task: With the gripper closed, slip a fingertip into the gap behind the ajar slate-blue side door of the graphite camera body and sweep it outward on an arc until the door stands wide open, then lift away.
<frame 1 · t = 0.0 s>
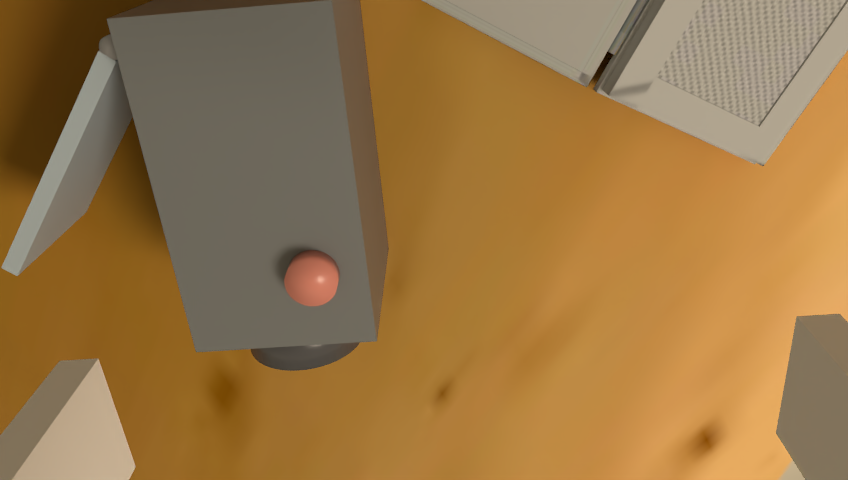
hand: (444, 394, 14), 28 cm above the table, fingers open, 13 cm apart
cam body: (295, 128, 40), on the table
door: (89, 134, 35), point 5 cm above the table, hinge at 38.0°
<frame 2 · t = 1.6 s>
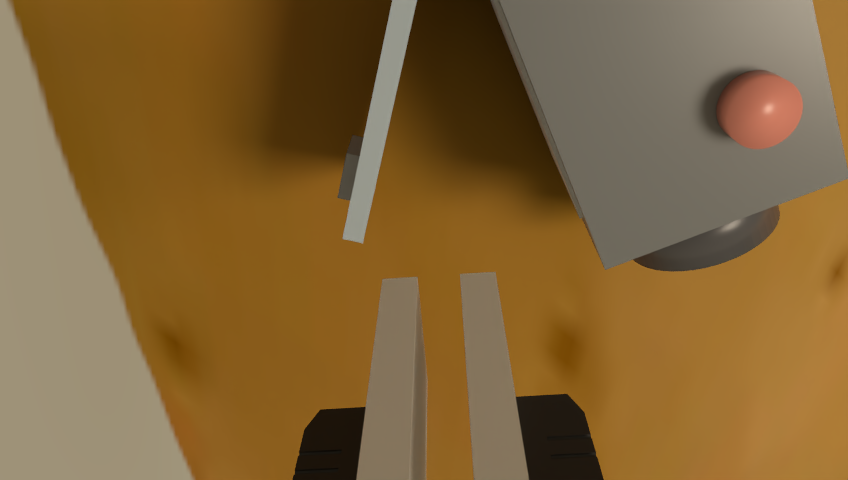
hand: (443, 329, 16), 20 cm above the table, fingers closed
door: (387, 50, 28), point 5 cm above the table, hinge at 38.0°
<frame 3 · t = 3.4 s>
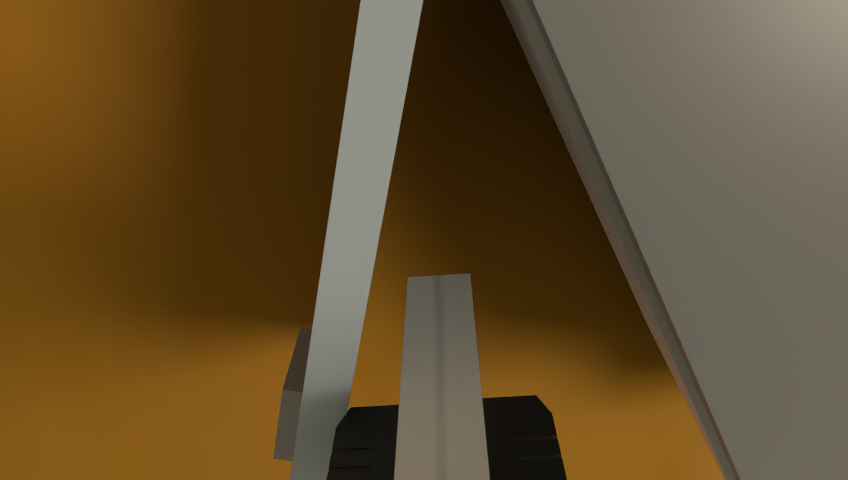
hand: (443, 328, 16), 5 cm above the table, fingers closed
cam body: (719, 34, 18), on the table
door: (350, 200, 15), point 5 cm above the table, hinge at 38.5°, touching gripper
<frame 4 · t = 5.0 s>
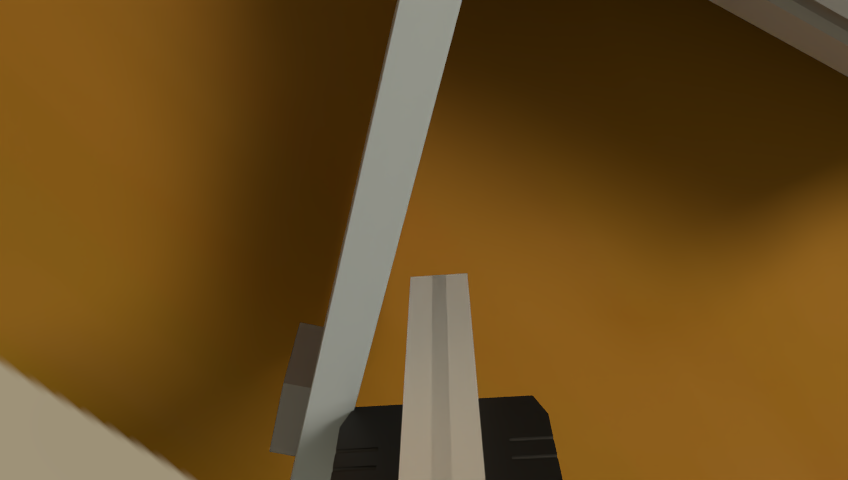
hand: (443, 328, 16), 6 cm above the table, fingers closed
door: (361, 197, 15), point 5 cm above the table, hinge at 78.5°, touching gripper
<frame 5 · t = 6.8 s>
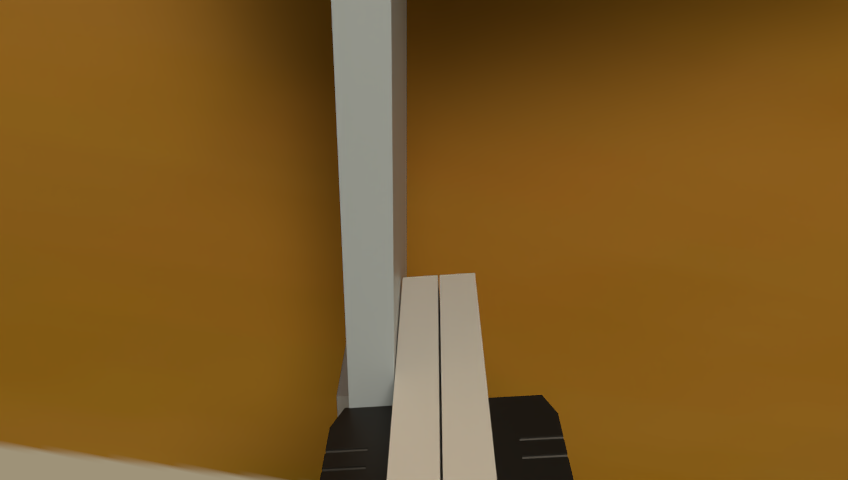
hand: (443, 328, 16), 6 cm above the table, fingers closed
door: (370, 201, 15), point 5 cm above the table, hinge at 105.4°, touching gripper
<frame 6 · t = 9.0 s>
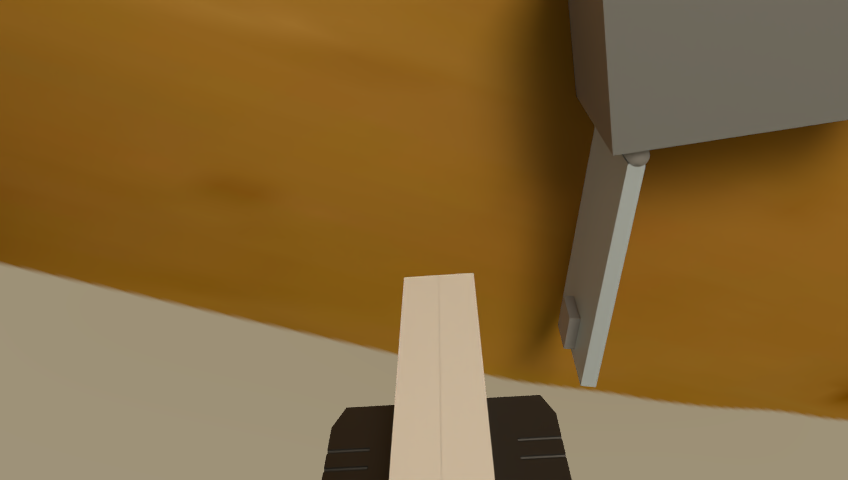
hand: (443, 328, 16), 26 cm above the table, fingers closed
door: (593, 241, 38), point 5 cm above the table, hinge at 104.3°
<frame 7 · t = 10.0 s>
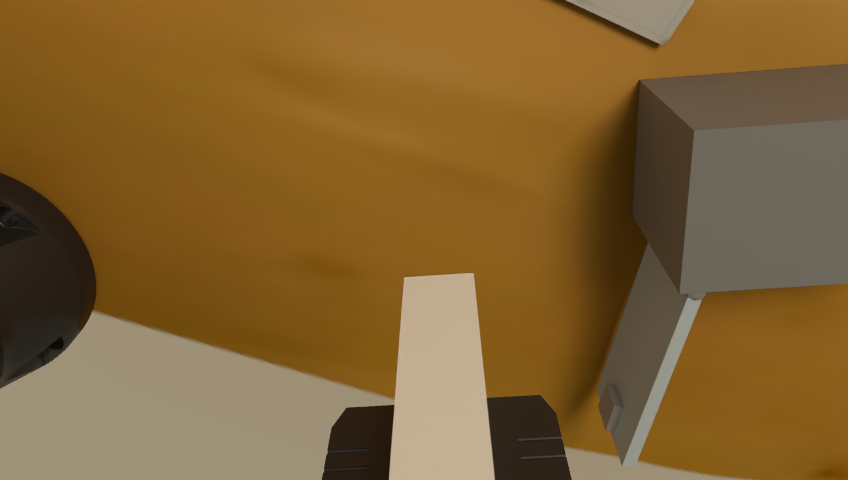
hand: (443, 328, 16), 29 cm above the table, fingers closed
cam body: (765, 141, 44), on the table
door: (640, 344, 45), point 5 cm above the table, hinge at 104.3°
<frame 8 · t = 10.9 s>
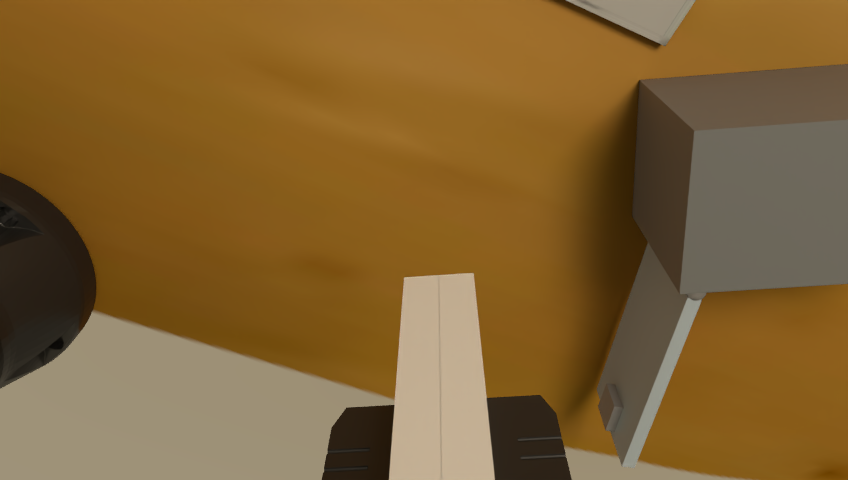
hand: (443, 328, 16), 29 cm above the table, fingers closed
cam body: (765, 141, 44), on the table
door: (640, 344, 45), point 5 cm above the table, hinge at 104.3°
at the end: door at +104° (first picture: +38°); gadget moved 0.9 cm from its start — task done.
